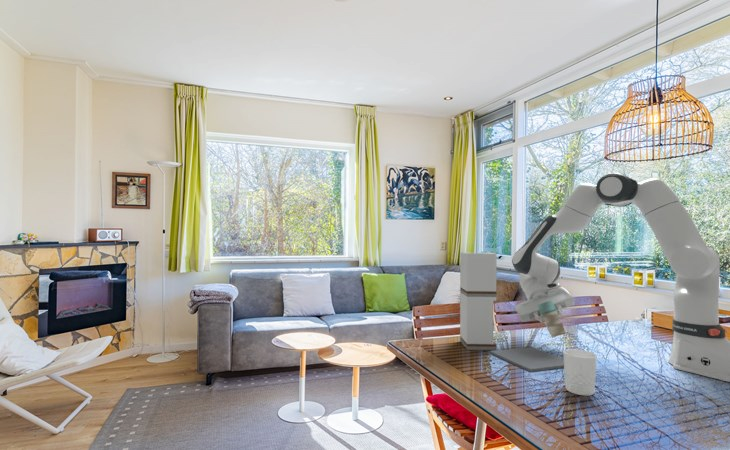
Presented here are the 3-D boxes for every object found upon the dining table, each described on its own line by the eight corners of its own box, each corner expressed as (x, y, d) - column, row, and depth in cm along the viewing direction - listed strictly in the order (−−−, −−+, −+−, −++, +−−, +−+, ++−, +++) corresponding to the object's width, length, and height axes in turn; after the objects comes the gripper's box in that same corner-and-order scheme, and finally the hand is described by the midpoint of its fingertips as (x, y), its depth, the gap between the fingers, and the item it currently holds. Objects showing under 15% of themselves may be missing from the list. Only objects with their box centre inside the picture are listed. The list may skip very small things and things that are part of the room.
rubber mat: (576, 366, 126) (576, 363, 126) (530, 371, 120) (530, 369, 120) (531, 349, 145) (531, 346, 145) (489, 353, 139) (489, 351, 139)
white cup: (567, 383, 111) (566, 347, 112) (599, 390, 106) (599, 352, 107) (560, 391, 105) (559, 353, 105) (593, 399, 100) (593, 359, 100)
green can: (560, 324, 148) (550, 300, 144) (565, 333, 144) (555, 308, 140) (547, 328, 149) (537, 305, 145) (552, 337, 145) (541, 313, 141)
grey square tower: (496, 350, 143) (496, 253, 144) (467, 349, 144) (467, 253, 145) (487, 341, 155) (487, 252, 156) (460, 341, 155) (460, 252, 156)
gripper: (510, 299, 158) (520, 321, 145) (562, 281, 152) (577, 302, 140) (516, 311, 160) (526, 334, 147) (567, 293, 154) (582, 315, 142)
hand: (551, 318), depth 143 cm, fingers closed on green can, 5 cm apart
